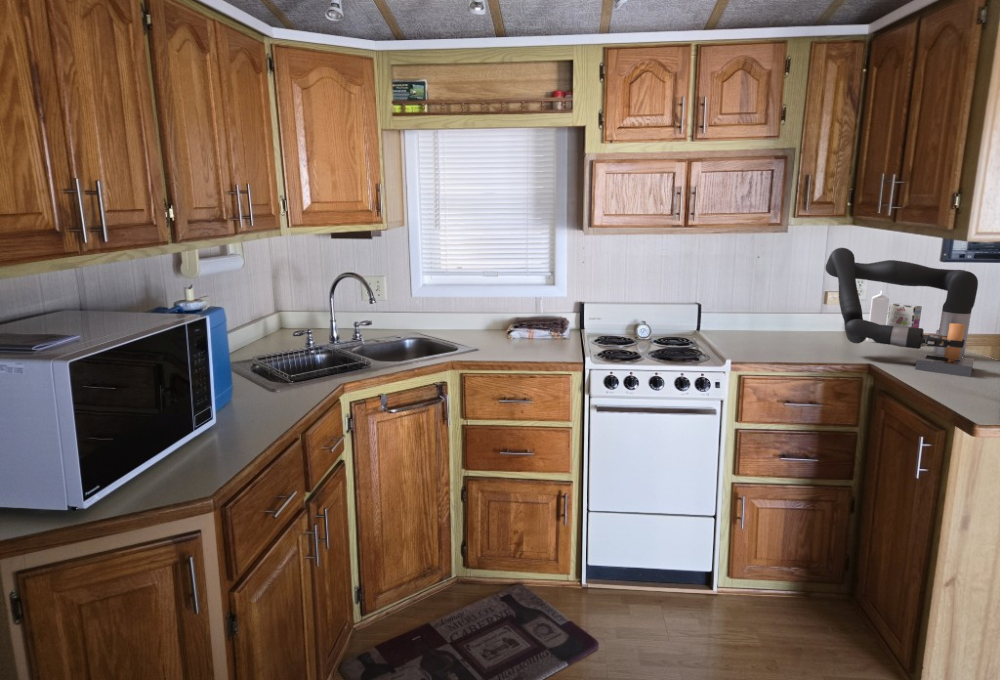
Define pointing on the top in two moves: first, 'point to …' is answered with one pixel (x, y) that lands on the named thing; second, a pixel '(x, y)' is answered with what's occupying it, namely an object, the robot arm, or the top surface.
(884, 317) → the milk
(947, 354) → the post
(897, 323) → the candy bar box
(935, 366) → the keyhole plate
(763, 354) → the top surface
